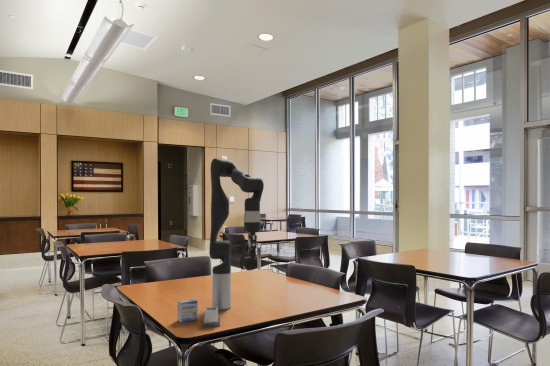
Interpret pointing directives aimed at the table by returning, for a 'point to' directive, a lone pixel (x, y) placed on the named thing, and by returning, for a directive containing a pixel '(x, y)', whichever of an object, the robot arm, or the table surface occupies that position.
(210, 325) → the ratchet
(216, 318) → the socket
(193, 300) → the medicine box
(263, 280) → the table surface
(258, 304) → the table surface
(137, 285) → the table surface
